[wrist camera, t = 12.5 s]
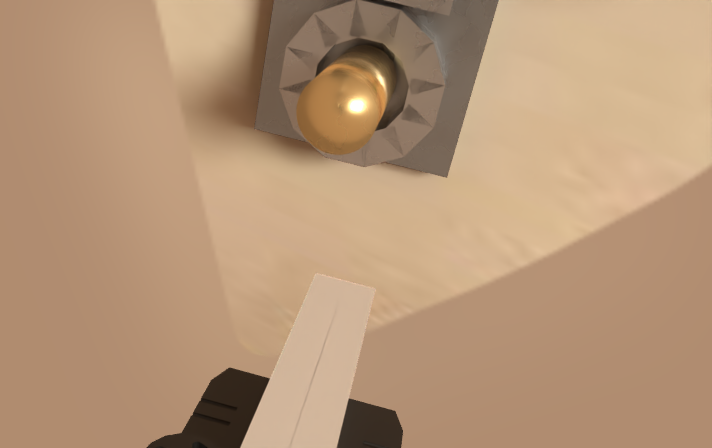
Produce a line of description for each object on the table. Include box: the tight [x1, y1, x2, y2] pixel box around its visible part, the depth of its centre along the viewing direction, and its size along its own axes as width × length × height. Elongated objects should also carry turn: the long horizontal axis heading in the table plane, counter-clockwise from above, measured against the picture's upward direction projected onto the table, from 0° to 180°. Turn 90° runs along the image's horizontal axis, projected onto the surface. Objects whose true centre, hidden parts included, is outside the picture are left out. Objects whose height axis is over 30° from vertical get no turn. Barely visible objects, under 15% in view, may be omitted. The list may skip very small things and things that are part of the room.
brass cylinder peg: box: [296, 45, 397, 155], centre depth 37 cm, size 4×4×10 cm
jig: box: [254, 0, 498, 178], centre depth 40 cm, size 18×13×5 cm
